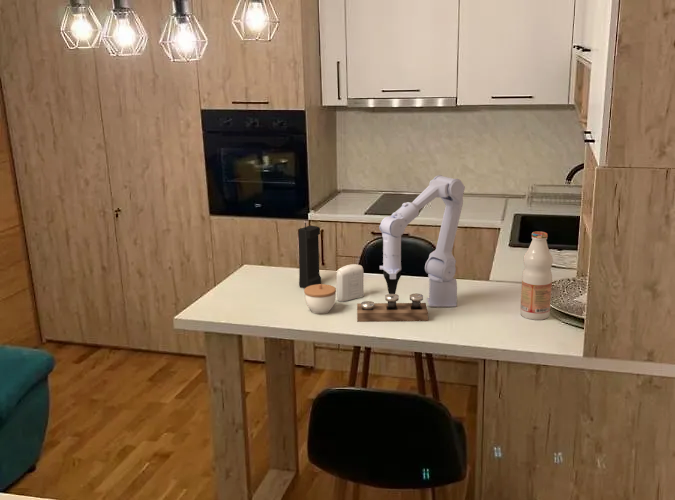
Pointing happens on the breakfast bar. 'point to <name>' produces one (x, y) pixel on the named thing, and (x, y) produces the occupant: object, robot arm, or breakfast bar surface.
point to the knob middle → (391, 300)
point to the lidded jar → (320, 298)
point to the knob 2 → (416, 301)
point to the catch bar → (392, 313)
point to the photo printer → (350, 282)
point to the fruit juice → (536, 279)
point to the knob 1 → (367, 305)
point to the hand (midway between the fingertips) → (391, 293)
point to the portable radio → (309, 256)
